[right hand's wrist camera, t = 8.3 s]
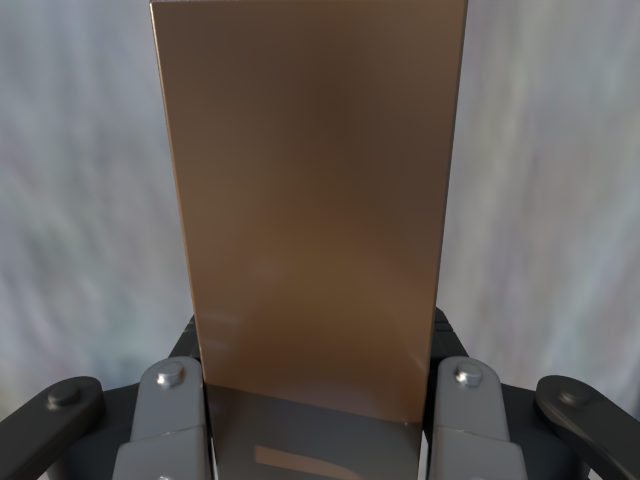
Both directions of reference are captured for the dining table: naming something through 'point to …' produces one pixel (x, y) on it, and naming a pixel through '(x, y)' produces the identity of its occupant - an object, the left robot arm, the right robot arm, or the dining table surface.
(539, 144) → the dining table surface
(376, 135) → the post
